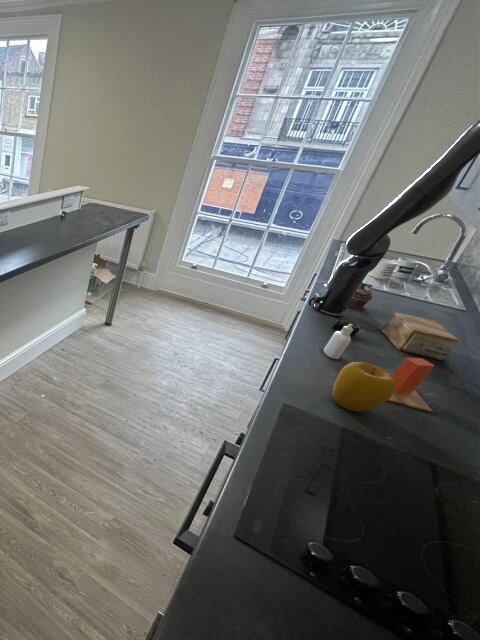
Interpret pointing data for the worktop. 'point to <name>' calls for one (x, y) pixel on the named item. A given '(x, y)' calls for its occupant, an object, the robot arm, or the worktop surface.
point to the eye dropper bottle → (338, 342)
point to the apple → (362, 387)
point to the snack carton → (411, 374)
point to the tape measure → (342, 323)
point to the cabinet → (413, 330)
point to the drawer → (429, 345)
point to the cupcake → (361, 296)
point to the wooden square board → (410, 400)
